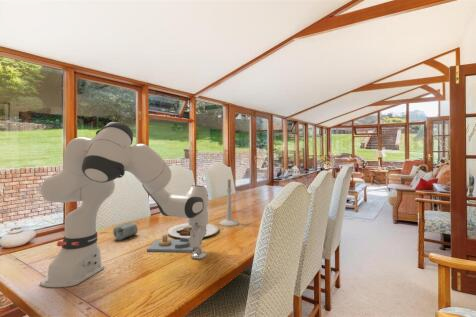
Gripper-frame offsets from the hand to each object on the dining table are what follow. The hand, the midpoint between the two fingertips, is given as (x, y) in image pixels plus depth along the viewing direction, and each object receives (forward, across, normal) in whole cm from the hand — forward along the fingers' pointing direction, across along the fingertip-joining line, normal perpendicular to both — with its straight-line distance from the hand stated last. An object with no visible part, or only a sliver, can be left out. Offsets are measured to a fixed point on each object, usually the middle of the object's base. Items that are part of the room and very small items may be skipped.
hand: (198, 250), depth 120 cm
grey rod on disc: (+3, +55, -10) cm, 56 cm away
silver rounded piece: (+3, 0, 0) cm, 3 cm away
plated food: (+3, +36, +10) cm, 38 cm away
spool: (+3, +25, +46) cm, 52 cm away
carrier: (+3, +12, +15) cm, 19 cm away
